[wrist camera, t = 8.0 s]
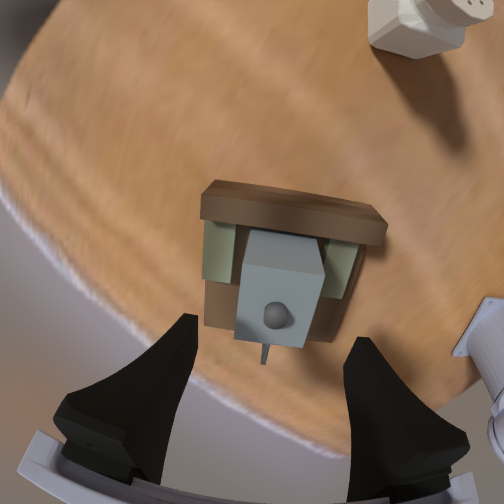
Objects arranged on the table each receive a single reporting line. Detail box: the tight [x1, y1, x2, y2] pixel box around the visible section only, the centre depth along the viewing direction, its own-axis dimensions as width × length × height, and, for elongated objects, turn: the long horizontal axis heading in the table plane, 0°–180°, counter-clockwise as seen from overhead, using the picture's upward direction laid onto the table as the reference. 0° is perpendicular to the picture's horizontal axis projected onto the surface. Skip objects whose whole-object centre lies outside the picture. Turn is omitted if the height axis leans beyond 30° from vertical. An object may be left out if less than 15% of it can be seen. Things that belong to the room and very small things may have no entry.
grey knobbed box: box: [234, 226, 325, 365], centre depth 18 cm, size 4×7×7 cm, turn 173°
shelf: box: [200, 180, 388, 343], centre depth 20 cm, size 11×12×4 cm
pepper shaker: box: [368, 0, 494, 59], centre depth 9 cm, size 4×4×10 cm
